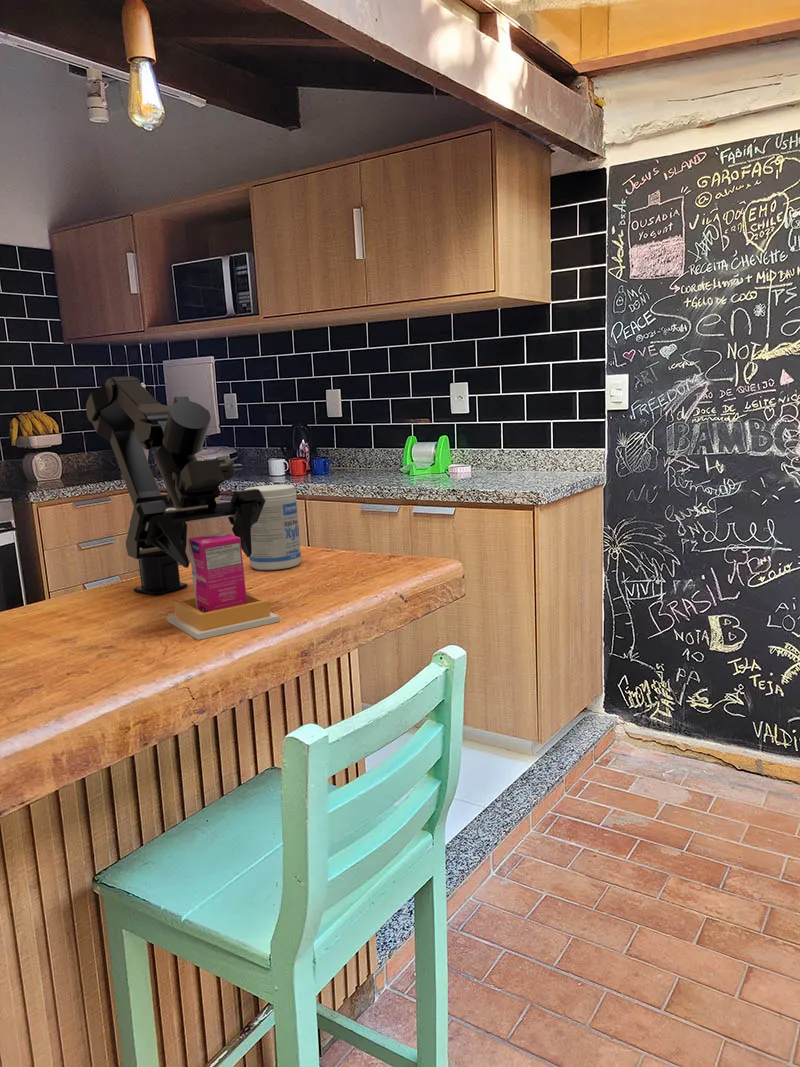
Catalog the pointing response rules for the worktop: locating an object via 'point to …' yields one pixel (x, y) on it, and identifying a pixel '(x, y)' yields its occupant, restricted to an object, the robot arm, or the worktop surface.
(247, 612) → the collar socket
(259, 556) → the supplement tub
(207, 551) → the supplement box
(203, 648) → the worktop surface
